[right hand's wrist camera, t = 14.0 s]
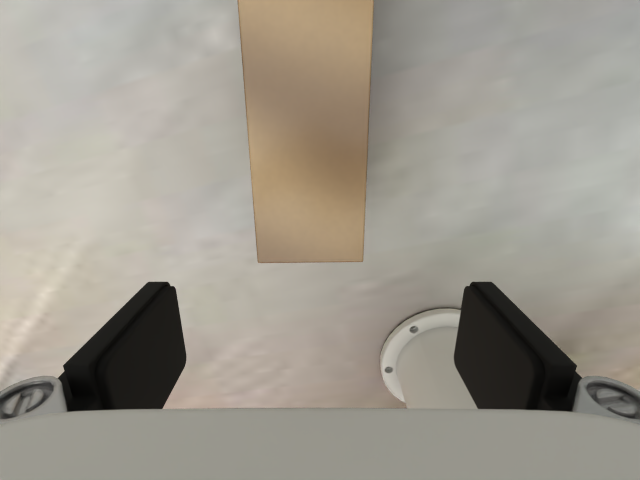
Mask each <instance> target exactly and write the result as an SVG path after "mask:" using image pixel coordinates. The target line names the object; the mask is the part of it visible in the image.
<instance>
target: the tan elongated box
mask: <svg viewBox="0 0 640 480" xmlns="http://www.w3.org/2000/svg"><path fill="white" fill-rule="evenodd" d="M373 9H374V0H238V12H239V25H240V38H241V50H242V63H243V76H244V89H245V102H246V115H247V128H248V141H249V154H250V167H251V180H252V193H253V206H254V219H255V232H256V245H257V258H258V263H297V262H363V249H364V225H365V201H366V177H367V153H368V129H369V105H370V81H371V57H372V33H373Z"/></svg>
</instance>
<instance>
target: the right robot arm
mask: <svg viewBox="0 0 640 480" xmlns="http://www.w3.org/2000/svg"><path fill="white" fill-rule="evenodd" d="M185 364H186V351H185V344H184V338H183V332H182V326H181V319H180V313H179V307H178V300H177V294H176V289H175V287H174V286H170V284H169V283H168V282H148V283H147V284H146V285H145V286H144V287H143V288H142V289H140V290H139V291H138V292H137V293H136V294H135V295H134V296H133V297H132V298H131V299H130V300H129V301H128V302H127V303H126V304H125V305H124V306H123V307H122V308H121V309H120V310H119V311H118V312H117V313H116V314H115V315H114V316H113V317H112V318H111V319H110V320H109V321H108V322H107V323H106V324H105V325H104V326H103V327H102V328H101V329H100V330H99V331H98V332H97V333H96V334H95V335H94V336H93V337H92V338H91V339H90V340H89V341H88V342H87V343H86V344H85V345H84V346H83V347H82V348H81V349H80V350H79V351H78V352H77V353H75V354H74V355H73V356H72V357H71V358H70V359H69V360H68V361H67V362H66V363H65V364H64V365H63V367H64V370H65V371H64V372H63V373H62V374H61V375H60V376H59V378H55V377H53V376H40V377H33V378H30V379H26V380H23V381H20V382H18V383H16V384H13V385H11V386H9V387H7V388H6V389H4V390H2V391H0V480H640V391H638V390H636V389H634V388H633V387H631V386H629V385H627V384H624V383H622V382H620V381H617V380H614V379H610V378H607V377H600V376H587V377H585V378H581V376H580V375H579V374H578V373H577V372H576V371H575V370H576V367H577V365H576V364H575V363H574V362H573V361H572V360H571V359H570V358H569V357H568V356H567V355H566V354H564V353H563V352H562V351H561V350H560V349H559V348H558V347H557V346H556V345H555V344H554V343H553V342H552V341H551V340H550V339H549V338H548V337H547V336H546V335H545V334H544V333H543V332H542V331H541V330H540V329H539V328H538V327H537V326H536V325H535V324H534V323H533V322H532V321H531V320H530V319H529V318H528V317H527V316H526V315H525V314H524V313H523V312H522V311H521V310H520V309H519V308H518V307H517V306H516V305H515V304H514V303H513V302H512V301H511V300H510V299H509V298H508V297H507V296H506V295H505V294H504V293H503V292H502V291H501V290H500V289H498V288H497V287H496V286H495V285H494V284H493V283H492V282H472V283H471V284H470V286H466V287H465V289H464V294H463V300H462V307H461V310H457V309H435V310H430V311H425V312H423V313H420V314H417V315H415V316H413V317H411V318H409V319H407V320H406V321H404V322H403V323H402V324H400V325H399V326H398V327H397V328H396V329H395V330H394V331H393V332H392V333H391V334H390V335H389V337H388V338H387V340H386V342H385V343H384V346H383V348H382V351H381V356H380V368H381V374H382V377H383V381H384V383H385V385H386V386H387V388H388V390H389V391H390V392H391V393H392V394H393V395H394V396H395V397H396V398H398V399H399V400H400V401H402V402H404V403H406V406H407V408H218V409H162V408H163V406H164V404H165V403H166V401H167V399H168V397H169V395H170V393H171V391H172V389H173V388H174V386H175V384H176V382H177V380H178V378H179V376H180V374H181V373H182V371H183V369H184V367H185Z"/></svg>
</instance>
